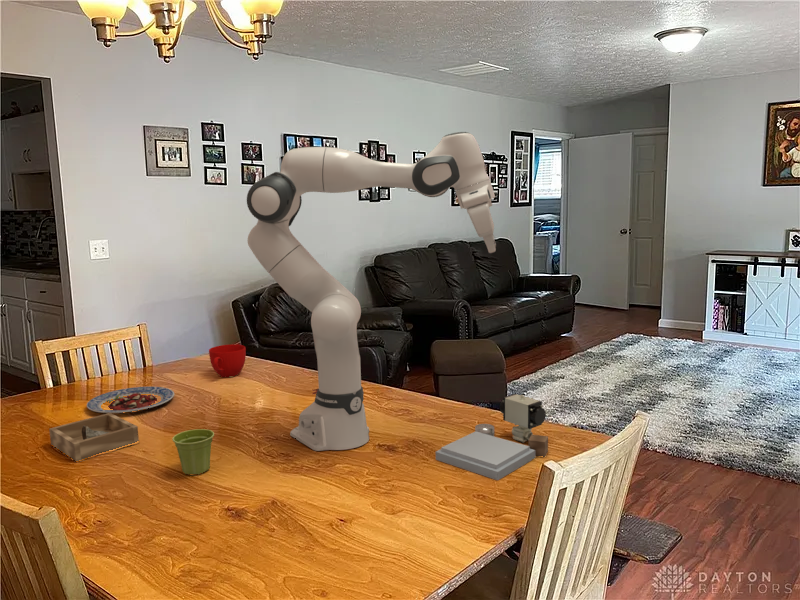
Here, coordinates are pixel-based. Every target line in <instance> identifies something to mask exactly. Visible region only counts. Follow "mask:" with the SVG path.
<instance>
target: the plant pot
mask: <svg viewBox="0 0 800 600" xmlns="http://www.w3.org/2000/svg"><path fill="white" fill-rule="evenodd" d="M214 436H215V432H214V431H213V430H211V429H205V428H196V429H195V428H194V429H189V430H185V431H181V432H179V433H177V434H175V435H174V436H173V437H172V442H173V443H174V445H175V447H176V450H177V452H178V453H177V454H178V458H179V461H180V467H181V469H182V473H183V472H184V473H185V474H184V473H183V474H184V475H189V474H198V475H201V474H200V473H202V474H204V473H205V472H207V471H209V470H210V467H211V466H210V465H211V454H212V453H211V451H212V442H213V438H214ZM208 469H209V470H208ZM203 472H204V473H203Z"/></svg>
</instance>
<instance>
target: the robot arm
mask: <svg viewBox="0 0 800 600" xmlns="http://www.w3.org/2000/svg"><path fill="white" fill-rule="evenodd" d="M484 159H485V158H484V156H483V153H482V151H481V149H480V145H479V142H478V141H477V139H476V138H475V136H474V135H473V134H471V133H470V132H467V131H459V132H452V133H448V134H446V135H444V136H443V137H441V139H440V141H439V142H438V144H437V145H436V146H434V147H433V149H432V150H431V151H429V152H428V154H426V155H425V156H424V157H423V158H421V159H420V160H418V161H417V162H415V163H400V162H399V163H398V162H385V161H378V160H375V159H371V158H368V157H367V156H364V155H362V154H360V153H358V152H356V151H352V150H349V149H344V148H339V147H333V146H332V147H330V146H328V147H327V146H307V147H299V148H293V149H292V148H291V149H289V150H288V151H287V152H286V153H285V154H284V156H283V157H282V161H281V165H280V171H275V172H273V173H271V174H269V175H266V176H264V177H262V178H261V179H259V180H257V181H256V182H255V183H254V184H252V185H251V187H250V188H249V190H248V192H247V195H246V205H247V208H248V211H249V212H250V213H251V215H252V217H254V218H256V219H257V223H256V224H255V225H254V226H253V227H252V228H251V229H250V232H249V234H248V235H247V245H248V247H249V249H250V251H251V252H252V254H253V255H254V257H255V258H256V259H257V261H258V262H259V263H260V265H261V266H262V267H263V269H264V270H265V271H266V272H267V273H268V274H269V275H270V277H272V279H274V281H275V282H276V283H277V284H278V285H279V287H281V288H282V290H284V292H285V293H286V294H287V295H288V296H289V297H290V298H292V299H294V300H296V301H297V302H298V303H300V304H301V305H303V307H304V308H305V309H307V310H308V311H309V312H311V317H310V326H311V330H312V337H313V338H312V339H313V344H314V350H315V354H316V359H317V360H316V362H317V377H318V379H317V380H318V388H316V389H312V395H315V398H314V401H313V402H312V403H311V404H309V405H308V406H307V407H306V408H305V409H303V410H301V412H300V414H299V417H298V426H296V427H295V428H292V429H291V430H290V433H289V434H290V436H291V437H292V438H293V439H295V438H296V439H295V440H297V441H299V443H302V444H303V445H305V446H306V447H308V448H310V449H312V451H315V452H317V451H318V452H320V451H329V450H331V451H343V450H351V449H354V448H355V449H356V448H359V447H361V446H363V445H365V444H367V443H368V442H369V440H370V435H369V432H370V427H369V426H368V425H367V418H366V417H367V416H366V411H365V404H364V403H363V401H364V388H363V386H362V376H361V375H362V373H361V369H362V368H361V355H360V350H359V343H358V331H357V328H358V326H357V325H358V323H359V322H360V319H361V315H362V314H361V313H362V308H361V304H360V301H359V300H358V298H357V297H356V296H355V295H354V294H353V293H351V291H350V290H349V289H348V288H347V287H345V286H344V285H343V284H342V283H341V282H340V281H339V280H338V279H336V278H335V277H334V276H333V275H332V274H330V272H328V271H327V270H326V269H325V268H324V266H322V265H321V264H320V263H319V262H318V261H317V260H316V259H315V257H314V256H312V254H311V253H310V252H309V251H308V250H307V249H306V247H305V246H303V244H302V243H301V242H300V241H299V240H298V239H297V238H296V237H295V235H293V233H292V231H291V230H290V227H291V226H292V223H293V222H294V220H295V218H296V216H297V215H298V213H299V211H300V209H301V206H302V195H304V194H306V193H313V192H314V193H326V194H332V193H333V194H335V193H336V194H338V193H340V194H341V193H350V192H356V191H360V190H364V189H369V188H374V187H375V188H378V187H384V188H397V189H407V190H413V191H415V192H417V193H418V194H421V195H422V196H424V197H427V198H437V197H440V196H442V195H444V194H445V193H446V192H447V191H448V190H450V188H454V190H455V195H456V196H457V201H458V204H459V207H460V209H461V210H463V209H464V210H465V209H466V212H467V214H468V215H469V218H470V221H471V223H472V225H473V228H474V231H475V232H476V234H477V236H478V237H479V238H483V242H484V243H485V245H486V248H487V251H488V254H493V253H495V252H496V250H497V248H496V247H497V243H496V241H495V236H494V229H495V223H494V220H493V216H492V213H491V209H490V207H492V206H493V202H492V200H493V199H495V198H496V196H495V192H494V189H493V186H492V185H493V184H492V182H491V180H490V176H488V173H487V172H486V168H485V167H486V166H485V160H484Z"/></svg>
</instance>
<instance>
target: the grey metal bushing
mask: <svg viewBox="0 0 800 600" xmlns="http://www.w3.org/2000/svg"><path fill="white" fill-rule="evenodd" d="M474 428H475V429H474V432H475V431H476V432H480V433H484V434H487V435H491V436H494V437H495V426H494V425H492V424H490V423H479V424H476V425H474Z"/></svg>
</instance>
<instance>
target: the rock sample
mask: <svg viewBox="0 0 800 600" xmlns="http://www.w3.org/2000/svg"><path fill="white" fill-rule="evenodd" d="M81 432H82V437H83V440H85V439H89V438H92V437H96V436H99V435H103V434H106V433H110V432H104V431H94V430H91V429H90V428H89V427H86V426H83V427H82V431H81Z"/></svg>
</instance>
